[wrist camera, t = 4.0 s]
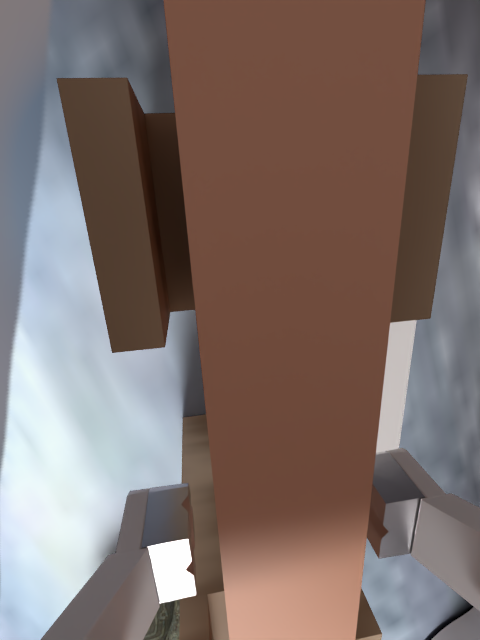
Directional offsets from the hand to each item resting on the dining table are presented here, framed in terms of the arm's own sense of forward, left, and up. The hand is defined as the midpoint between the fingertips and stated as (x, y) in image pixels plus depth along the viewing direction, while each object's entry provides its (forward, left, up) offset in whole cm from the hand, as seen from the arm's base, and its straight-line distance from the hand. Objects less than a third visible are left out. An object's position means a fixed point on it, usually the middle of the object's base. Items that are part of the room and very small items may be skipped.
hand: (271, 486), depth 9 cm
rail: (0, 0, -1) cm, 1 cm away
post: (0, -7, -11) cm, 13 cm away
